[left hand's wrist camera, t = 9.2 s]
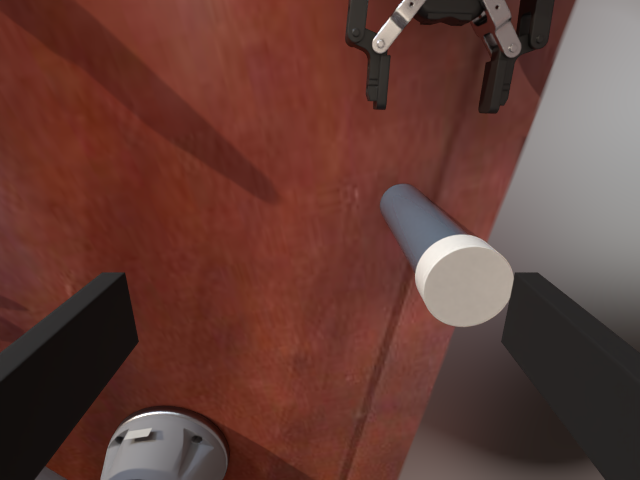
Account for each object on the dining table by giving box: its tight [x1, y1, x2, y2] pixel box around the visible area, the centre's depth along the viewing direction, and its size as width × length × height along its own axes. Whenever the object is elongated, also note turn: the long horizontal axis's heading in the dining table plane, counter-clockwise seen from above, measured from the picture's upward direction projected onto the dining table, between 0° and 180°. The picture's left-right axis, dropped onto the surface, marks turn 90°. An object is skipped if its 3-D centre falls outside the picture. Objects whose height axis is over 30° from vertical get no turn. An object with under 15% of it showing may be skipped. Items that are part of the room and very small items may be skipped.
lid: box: [415, 235, 514, 327], centre depth 22 cm, size 5×5×2 cm
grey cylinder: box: [380, 184, 469, 273], centre depth 30 cm, size 4×4×18 cm
